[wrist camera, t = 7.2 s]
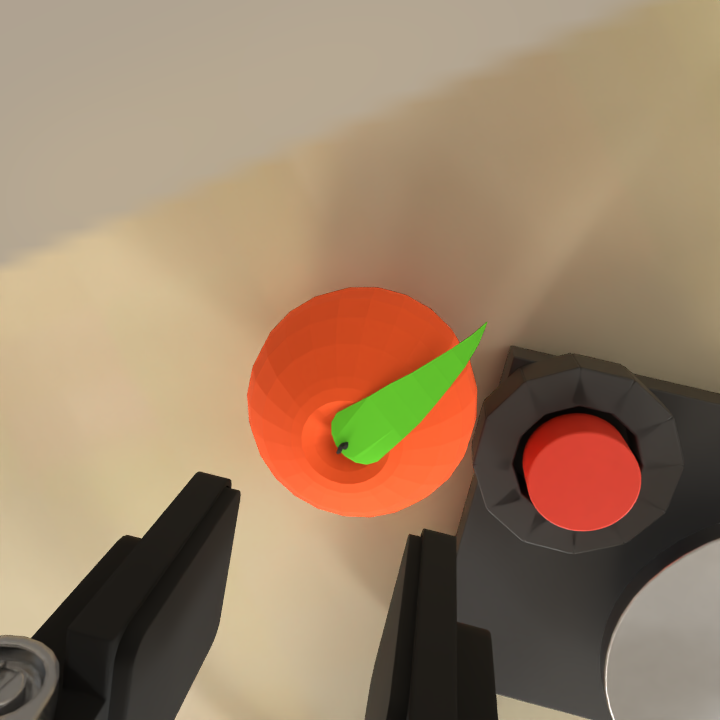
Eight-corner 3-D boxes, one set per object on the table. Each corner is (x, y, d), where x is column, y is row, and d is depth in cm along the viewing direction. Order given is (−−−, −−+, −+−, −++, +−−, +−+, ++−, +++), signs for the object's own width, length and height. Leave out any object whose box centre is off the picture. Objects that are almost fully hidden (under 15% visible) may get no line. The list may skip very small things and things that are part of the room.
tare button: (510, 492, 21) (514, 516, 20) (538, 401, 20) (545, 420, 19) (609, 517, 21) (621, 543, 20) (642, 426, 20) (657, 447, 19)
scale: (410, 645, 27) (404, 703, 24) (498, 326, 22) (505, 349, 20) (830, 757, 25) (878, 833, 23) (1006, 442, 21) (1090, 486, 18)
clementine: (417, 207, 22) (401, 227, 15) (540, 370, 23) (577, 457, 16) (241, 347, 24) (157, 420, 17) (360, 490, 25) (325, 611, 18)
